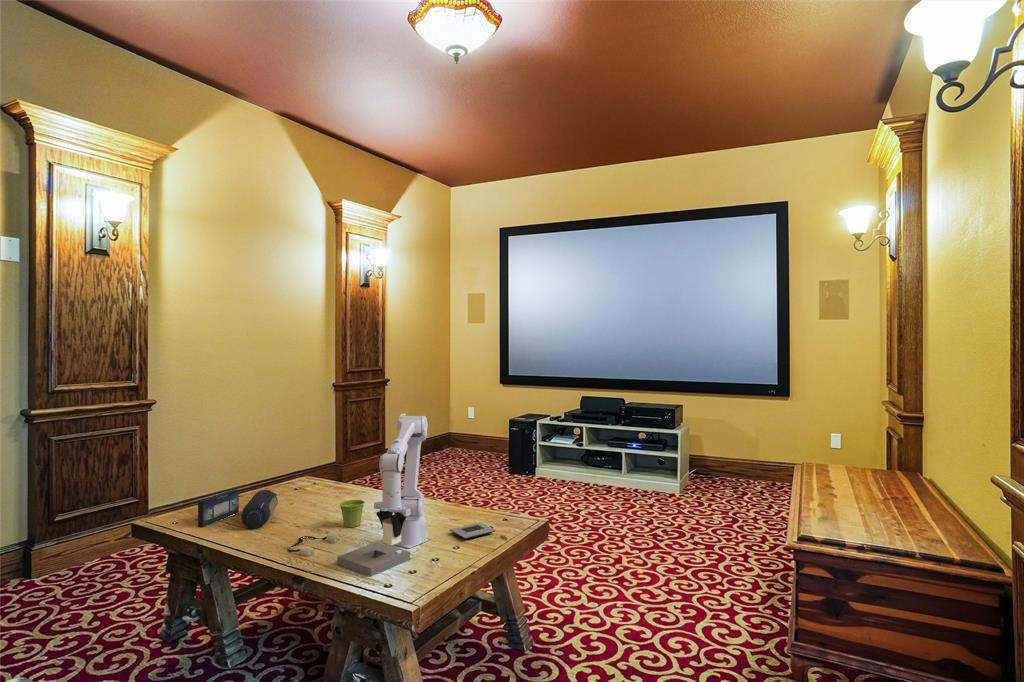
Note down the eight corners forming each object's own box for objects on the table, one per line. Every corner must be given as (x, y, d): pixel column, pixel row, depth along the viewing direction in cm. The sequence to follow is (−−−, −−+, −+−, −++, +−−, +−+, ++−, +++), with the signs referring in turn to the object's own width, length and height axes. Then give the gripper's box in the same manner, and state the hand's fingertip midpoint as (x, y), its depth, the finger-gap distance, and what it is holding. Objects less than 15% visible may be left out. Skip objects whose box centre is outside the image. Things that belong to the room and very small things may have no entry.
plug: (392, 538, 181) (392, 517, 181) (401, 541, 179) (401, 519, 179) (382, 542, 178) (382, 520, 178) (391, 545, 175) (391, 522, 175)
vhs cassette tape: (202, 527, 215) (202, 501, 215) (196, 527, 216) (196, 501, 216) (240, 513, 233) (239, 489, 232) (234, 513, 233) (234, 488, 233)
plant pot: (339, 523, 219) (339, 500, 219) (364, 520, 222) (364, 498, 222) (339, 530, 211) (339, 507, 210) (365, 527, 213) (365, 504, 213)
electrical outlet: (464, 543, 198) (464, 536, 198) (449, 534, 206) (449, 528, 206) (495, 535, 206) (495, 528, 206) (479, 527, 214) (479, 521, 214)
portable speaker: (267, 530, 212) (267, 503, 212) (239, 532, 210) (238, 505, 210) (279, 510, 237) (279, 486, 237) (253, 512, 234) (253, 488, 234)
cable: (272, 553, 190) (272, 543, 190) (306, 537, 205) (306, 527, 205) (310, 559, 184) (309, 548, 184) (341, 542, 200) (341, 532, 200)
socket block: (377, 549, 192) (376, 540, 192) (410, 559, 182) (410, 550, 182) (337, 564, 179) (337, 554, 179) (371, 576, 169) (370, 566, 169)
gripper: (366, 491, 179) (366, 534, 179) (398, 498, 171) (398, 543, 171) (383, 486, 185) (383, 527, 185) (415, 493, 176) (415, 536, 177)
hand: (392, 534), depth 178 cm, fingers closed on plug, 4 cm apart
